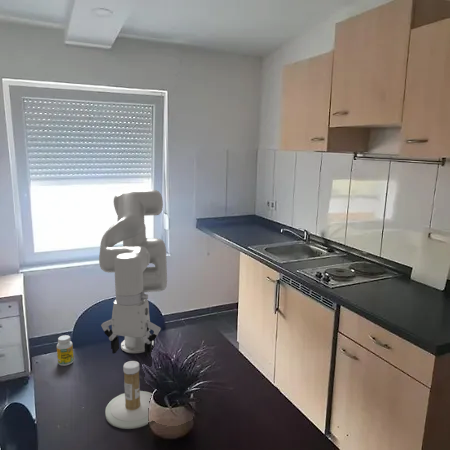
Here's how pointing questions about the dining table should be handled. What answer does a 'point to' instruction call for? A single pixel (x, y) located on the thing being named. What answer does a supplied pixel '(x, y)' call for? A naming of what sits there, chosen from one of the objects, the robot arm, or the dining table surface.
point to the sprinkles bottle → (131, 385)
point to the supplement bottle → (65, 350)
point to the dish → (128, 412)
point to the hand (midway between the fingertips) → (131, 352)
